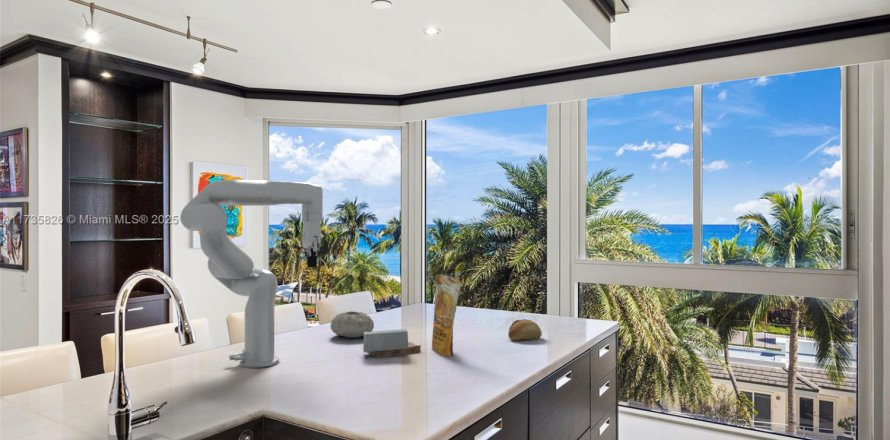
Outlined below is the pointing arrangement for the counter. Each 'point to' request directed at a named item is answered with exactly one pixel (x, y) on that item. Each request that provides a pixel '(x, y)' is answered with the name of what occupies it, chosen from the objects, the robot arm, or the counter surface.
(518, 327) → the bread roll
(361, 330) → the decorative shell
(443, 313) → the pancake mix bag
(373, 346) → the skincare box
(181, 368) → the counter surface
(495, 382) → the counter surface
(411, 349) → the light brown wooden tray
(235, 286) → the robot arm
